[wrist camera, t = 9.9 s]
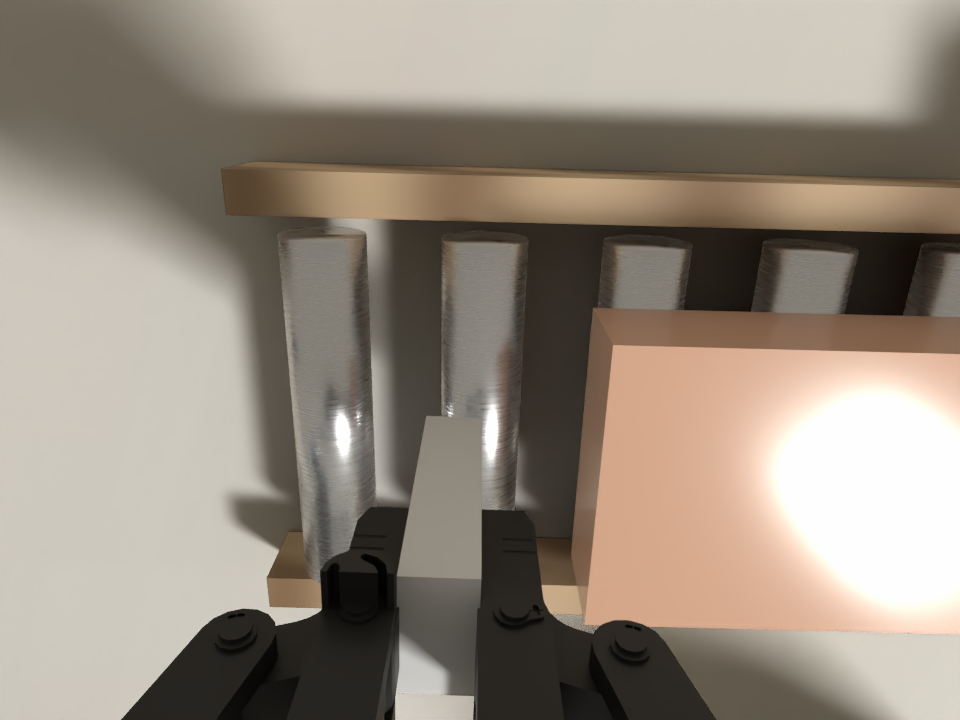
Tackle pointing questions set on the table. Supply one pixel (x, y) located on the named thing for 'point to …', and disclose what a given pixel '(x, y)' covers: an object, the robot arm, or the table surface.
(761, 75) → the table surface
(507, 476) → the roller bed
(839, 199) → the frame
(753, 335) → the slab
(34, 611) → the table surface
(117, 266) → the table surface
